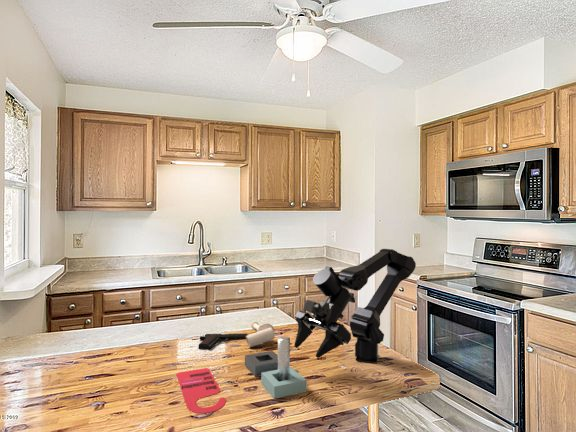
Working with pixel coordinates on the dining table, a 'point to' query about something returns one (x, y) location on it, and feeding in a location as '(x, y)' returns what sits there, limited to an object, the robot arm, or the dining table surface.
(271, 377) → the block
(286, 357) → the steel pin
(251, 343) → the toilet paper hanger
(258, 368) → the socket block
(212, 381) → the door hanger
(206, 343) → the handgun
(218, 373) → the dining table surface
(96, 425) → the dining table surface
